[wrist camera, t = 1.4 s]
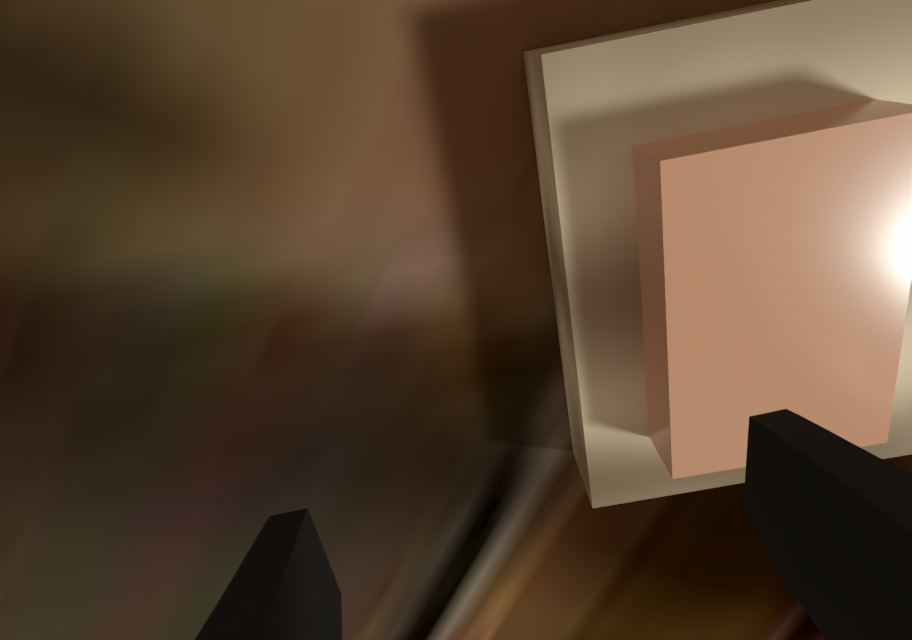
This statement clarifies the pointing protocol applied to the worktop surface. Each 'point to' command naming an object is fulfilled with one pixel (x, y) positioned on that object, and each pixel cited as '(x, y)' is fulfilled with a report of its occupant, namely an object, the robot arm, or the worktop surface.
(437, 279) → the worktop surface
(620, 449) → the tan tray
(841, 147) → the tile
